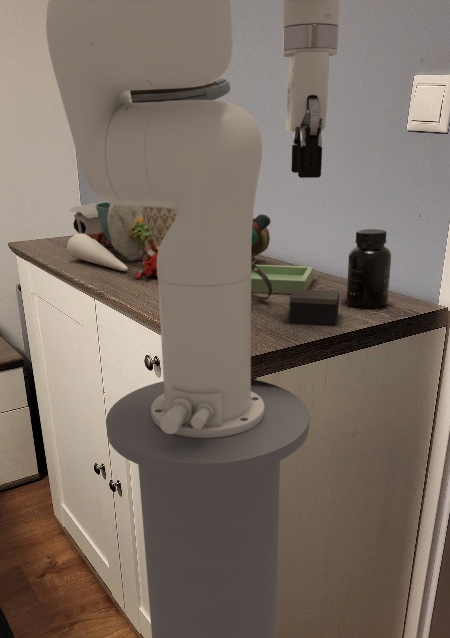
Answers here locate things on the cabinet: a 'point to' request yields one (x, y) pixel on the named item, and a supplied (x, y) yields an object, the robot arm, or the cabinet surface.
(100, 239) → the dental model
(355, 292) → the supplement bottle
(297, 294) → the back pad
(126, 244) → the fossil
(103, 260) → the long cone
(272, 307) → the cabinet surface
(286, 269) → the rectangular tray
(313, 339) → the cabinet surface
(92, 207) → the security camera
